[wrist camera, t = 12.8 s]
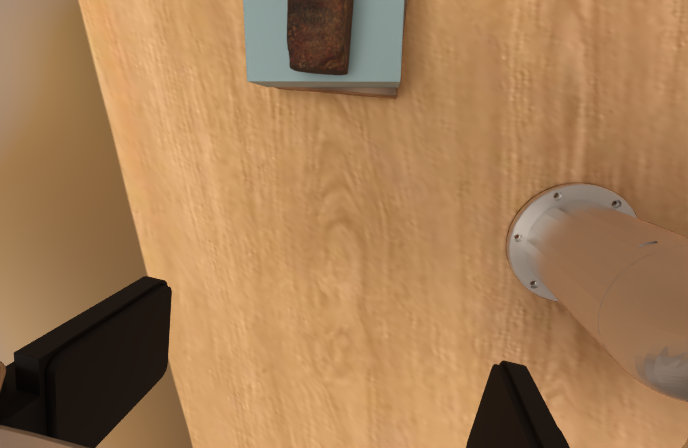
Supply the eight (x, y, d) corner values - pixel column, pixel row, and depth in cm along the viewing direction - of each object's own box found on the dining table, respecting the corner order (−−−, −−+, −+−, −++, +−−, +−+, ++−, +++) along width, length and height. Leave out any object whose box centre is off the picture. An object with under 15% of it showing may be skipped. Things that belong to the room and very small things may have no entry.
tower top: (406, -72, 30) (409, -108, 26) (398, 87, 34) (400, 81, 29) (261, -66, 32) (238, -99, 27) (266, 86, 35) (247, 81, 30)
